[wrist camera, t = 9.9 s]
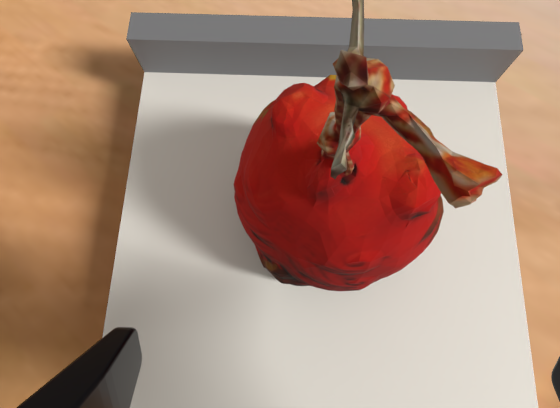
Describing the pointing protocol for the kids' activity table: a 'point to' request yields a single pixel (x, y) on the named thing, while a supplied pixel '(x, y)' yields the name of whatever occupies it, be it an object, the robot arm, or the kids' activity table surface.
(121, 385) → the robot arm
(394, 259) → the red bumpy oval lump
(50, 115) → the kids' activity table surface
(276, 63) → the shelf board
